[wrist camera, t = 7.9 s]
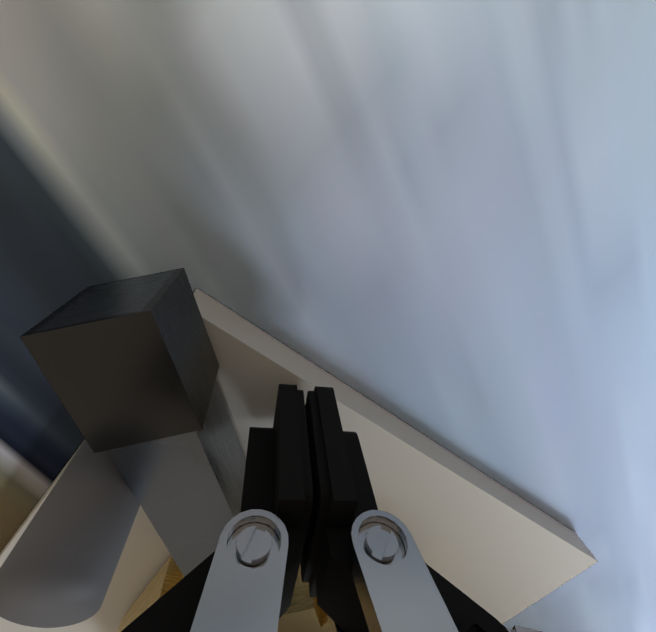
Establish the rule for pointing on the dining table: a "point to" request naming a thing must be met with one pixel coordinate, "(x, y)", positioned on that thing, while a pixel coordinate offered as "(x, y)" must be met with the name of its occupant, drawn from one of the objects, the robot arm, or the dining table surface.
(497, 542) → the hub plate
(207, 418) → the tan ring with handle
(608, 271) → the dining table surface
